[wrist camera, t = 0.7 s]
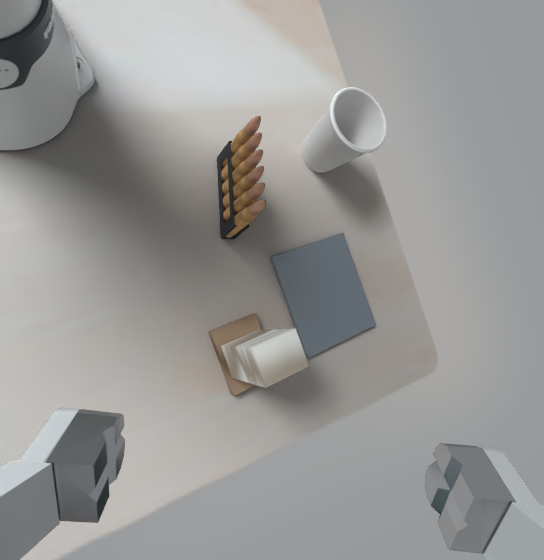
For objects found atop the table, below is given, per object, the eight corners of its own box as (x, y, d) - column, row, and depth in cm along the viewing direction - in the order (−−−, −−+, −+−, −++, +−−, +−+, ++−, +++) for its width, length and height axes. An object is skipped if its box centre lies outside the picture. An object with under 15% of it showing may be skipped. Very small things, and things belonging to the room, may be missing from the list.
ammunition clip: (235, 239, 49) (274, 211, 38) (220, 238, 48) (256, 209, 37) (230, 158, 50) (267, 109, 40) (216, 157, 50) (250, 106, 39)
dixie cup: (351, 163, 59) (398, 131, 50) (316, 192, 55) (360, 164, 46) (319, 116, 57) (360, 75, 48) (281, 143, 54) (318, 104, 45)
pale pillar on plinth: (208, 331, 46) (239, 329, 36) (252, 313, 49) (292, 307, 39) (231, 394, 46) (268, 410, 36) (273, 373, 49) (320, 383, 39)
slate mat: (270, 257, 51) (271, 256, 50) (340, 233, 56) (343, 232, 55) (306, 358, 51) (308, 358, 50) (373, 325, 56) (375, 324, 56)
